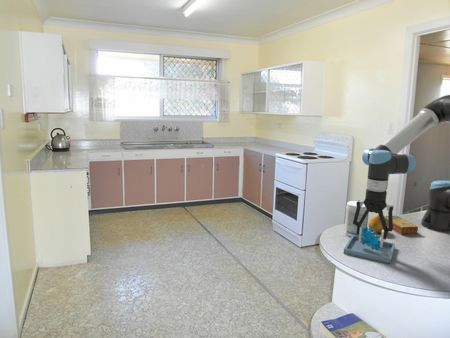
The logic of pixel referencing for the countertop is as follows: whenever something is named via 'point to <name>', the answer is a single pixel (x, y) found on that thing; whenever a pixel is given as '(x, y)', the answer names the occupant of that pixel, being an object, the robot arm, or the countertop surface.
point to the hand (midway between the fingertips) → (370, 243)
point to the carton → (402, 226)
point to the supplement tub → (350, 213)
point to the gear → (371, 238)
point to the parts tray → (369, 250)
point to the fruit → (376, 224)
